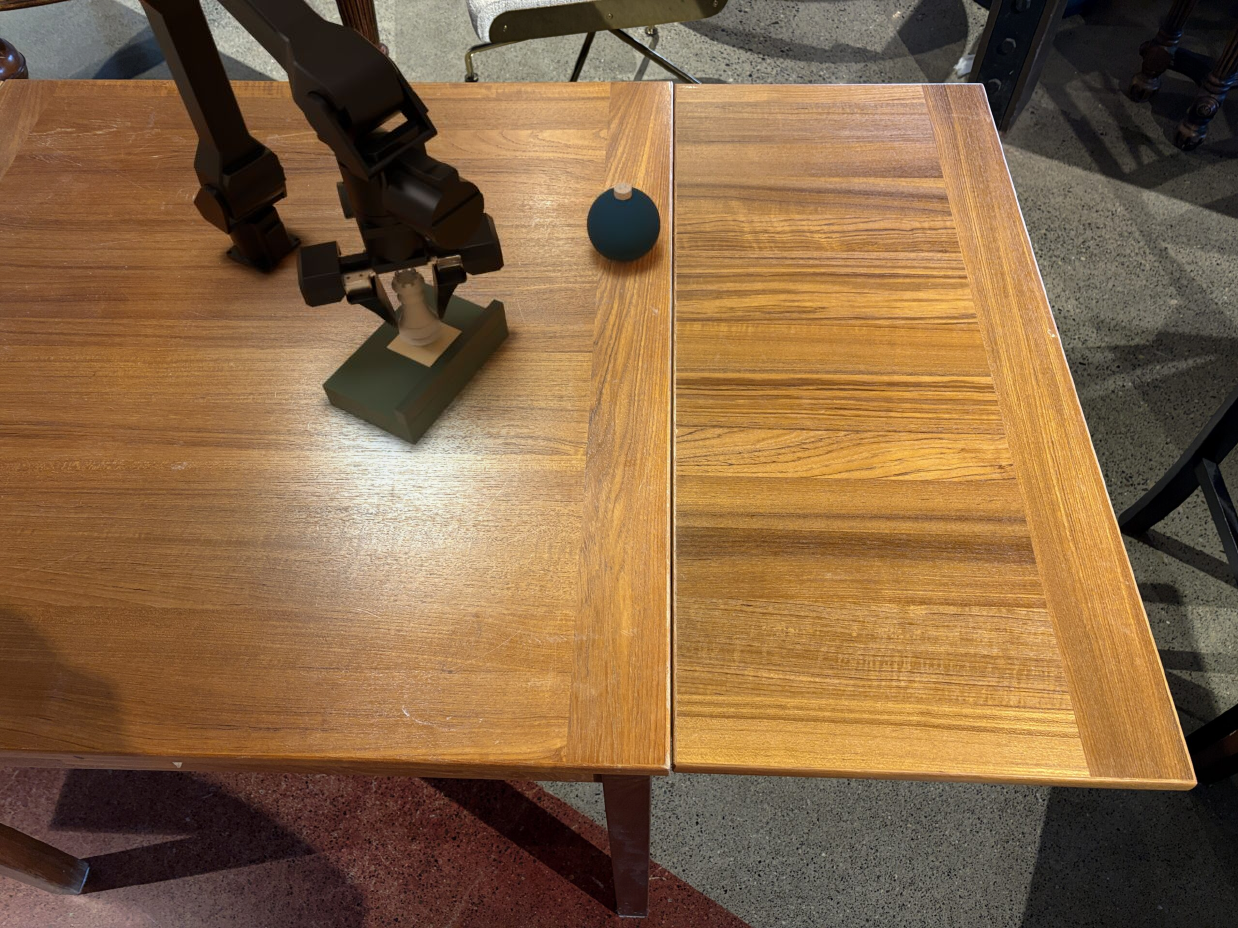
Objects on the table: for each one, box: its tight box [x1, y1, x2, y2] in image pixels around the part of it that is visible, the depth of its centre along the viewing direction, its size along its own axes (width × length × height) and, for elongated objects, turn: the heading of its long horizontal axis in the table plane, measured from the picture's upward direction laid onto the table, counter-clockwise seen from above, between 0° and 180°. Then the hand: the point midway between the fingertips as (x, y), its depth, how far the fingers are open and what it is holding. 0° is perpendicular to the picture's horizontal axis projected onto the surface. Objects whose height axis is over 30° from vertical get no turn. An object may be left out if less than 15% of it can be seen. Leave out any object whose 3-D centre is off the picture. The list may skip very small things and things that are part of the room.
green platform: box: [322, 282, 510, 446], centre depth 93 cm, size 11×17×5 cm, turn 150°
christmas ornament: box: [586, 181, 662, 264], centre depth 101 cm, size 8×8×10 cm
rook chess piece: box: [390, 268, 443, 347], centre depth 89 cm, size 4×4×8 cm
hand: (418, 320), depth 91 cm, fingers closed on rook chess piece, 4 cm apart
